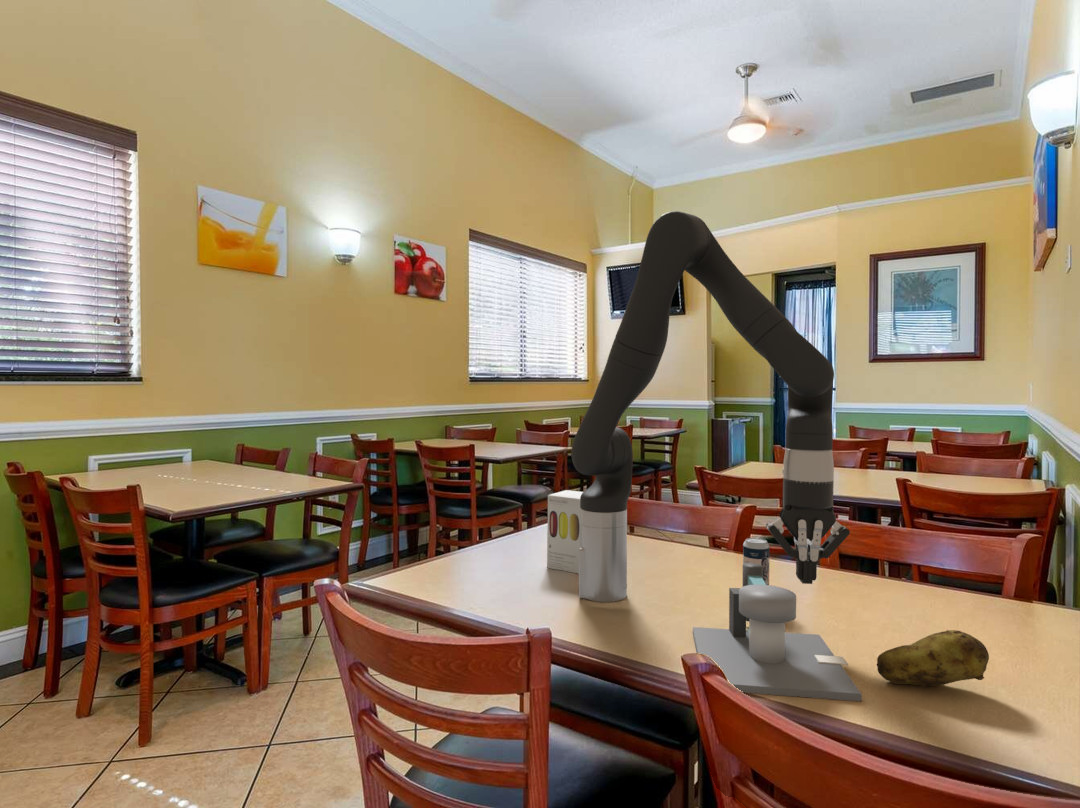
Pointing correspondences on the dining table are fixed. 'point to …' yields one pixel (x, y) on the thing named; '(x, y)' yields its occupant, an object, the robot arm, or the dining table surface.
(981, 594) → the dining table surface
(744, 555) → the beer can
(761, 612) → the lever
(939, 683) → the potato
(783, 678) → the post base
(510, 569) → the dining table surface
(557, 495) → the supplement box
